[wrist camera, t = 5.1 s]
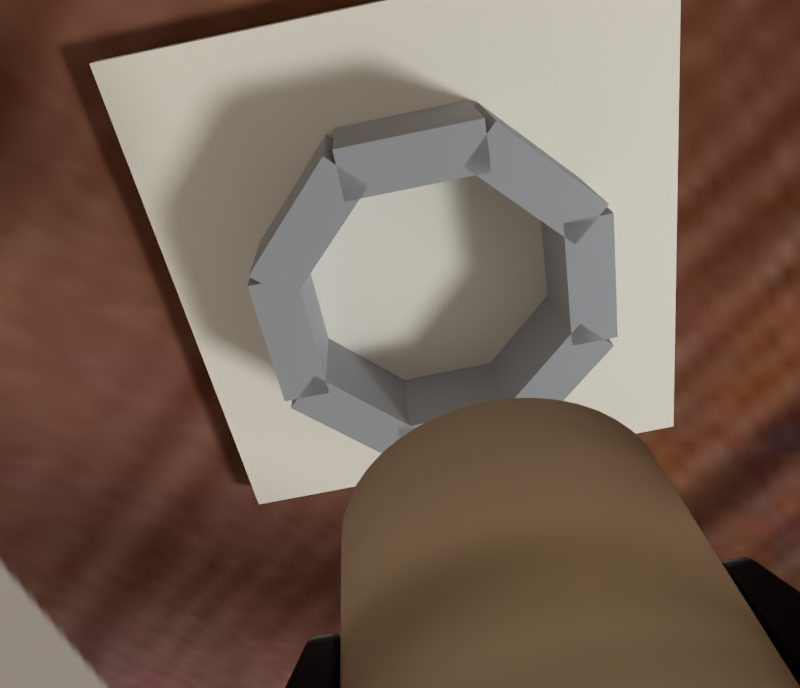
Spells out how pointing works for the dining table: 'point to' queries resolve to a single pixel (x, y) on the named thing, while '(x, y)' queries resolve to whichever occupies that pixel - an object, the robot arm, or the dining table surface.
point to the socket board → (413, 216)
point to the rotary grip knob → (536, 563)
